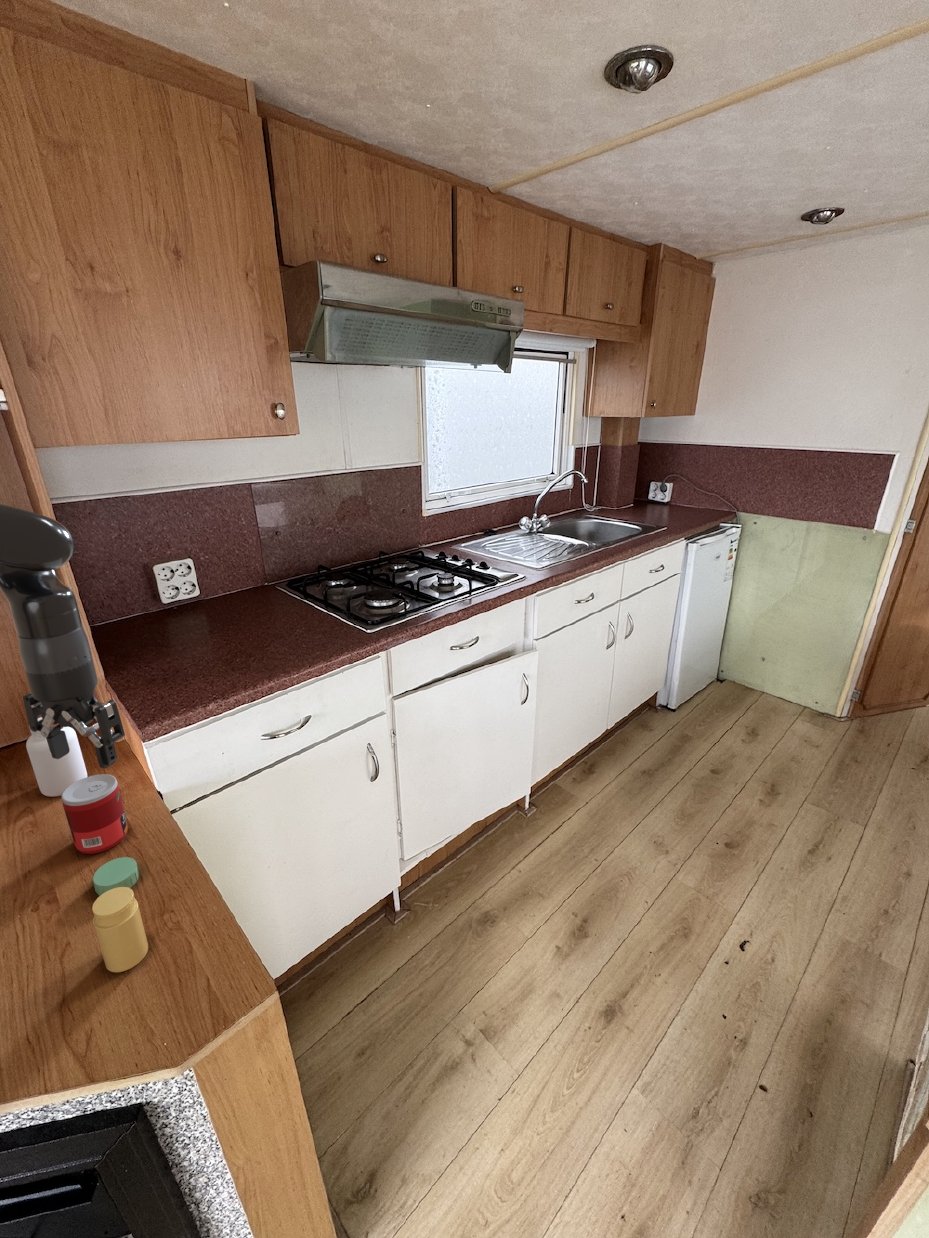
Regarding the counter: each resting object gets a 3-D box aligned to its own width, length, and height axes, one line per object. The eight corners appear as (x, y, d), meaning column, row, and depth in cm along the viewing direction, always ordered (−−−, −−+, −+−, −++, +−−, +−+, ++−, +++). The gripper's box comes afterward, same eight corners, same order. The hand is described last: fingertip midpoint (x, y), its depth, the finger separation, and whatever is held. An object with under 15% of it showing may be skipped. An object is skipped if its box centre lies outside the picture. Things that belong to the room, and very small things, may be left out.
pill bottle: (35, 785, 109) (16, 720, 104) (82, 768, 114) (66, 706, 109) (45, 803, 104) (25, 736, 99) (93, 784, 109) (76, 720, 104)
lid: (118, 864, 90) (115, 853, 89) (148, 872, 89) (145, 861, 88) (86, 892, 85) (82, 881, 84) (117, 901, 83) (114, 890, 82)
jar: (127, 976, 72) (112, 921, 69) (95, 967, 73) (79, 912, 70) (157, 942, 77) (144, 889, 73) (126, 934, 78) (113, 881, 75)
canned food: (137, 834, 97) (125, 783, 93) (88, 862, 90) (73, 809, 87) (115, 817, 101) (103, 768, 97) (67, 843, 94) (52, 791, 90)
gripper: (124, 655, 75) (145, 754, 81) (43, 644, 78) (69, 739, 84) (75, 678, 68) (102, 784, 74) (-11, 664, 72) (21, 767, 77)
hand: (84, 760), depth 79 cm, fingers open, 8 cm apart
